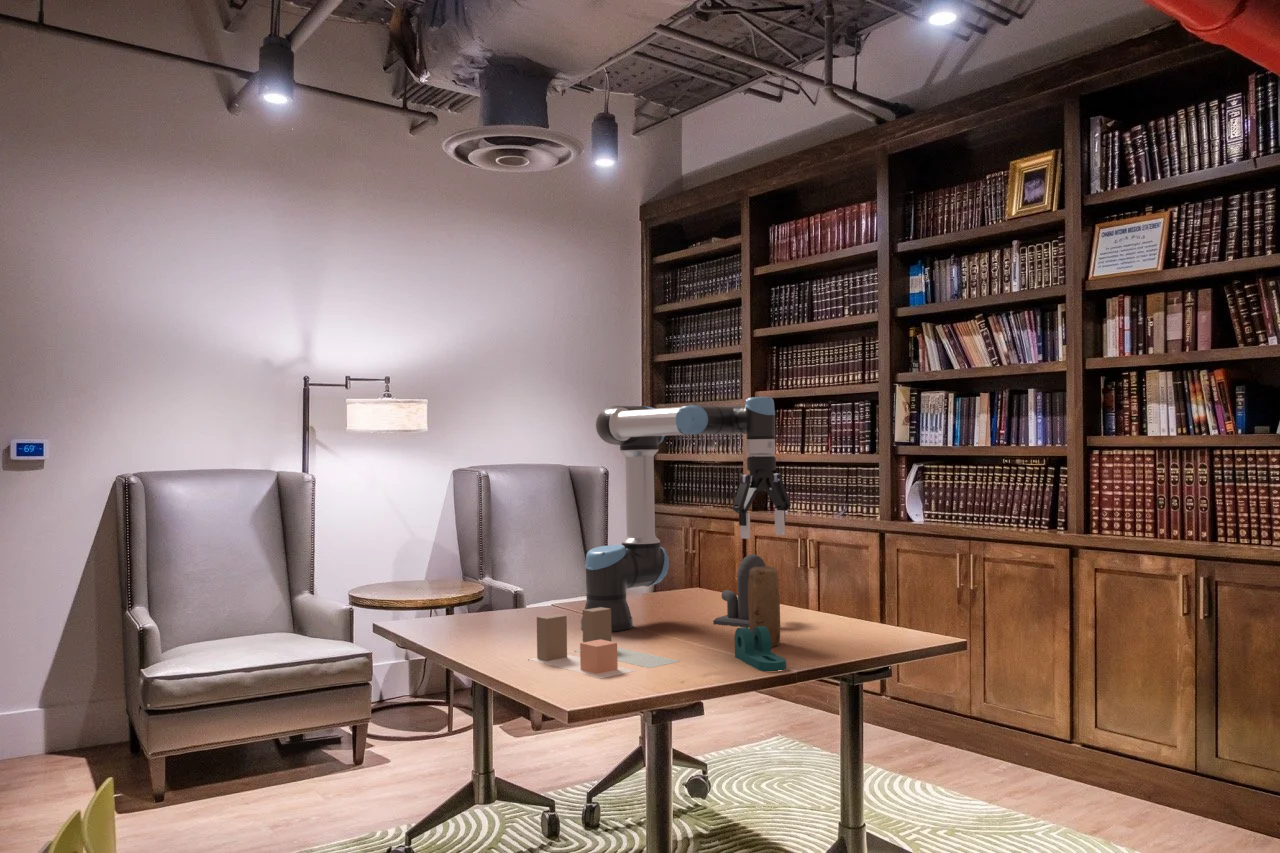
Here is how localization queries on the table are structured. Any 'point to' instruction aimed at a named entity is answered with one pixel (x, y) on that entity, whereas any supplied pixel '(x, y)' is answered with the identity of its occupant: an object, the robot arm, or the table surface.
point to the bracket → (757, 649)
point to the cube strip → (577, 668)
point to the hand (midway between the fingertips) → (762, 536)
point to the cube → (598, 656)
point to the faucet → (739, 595)
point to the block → (764, 601)
